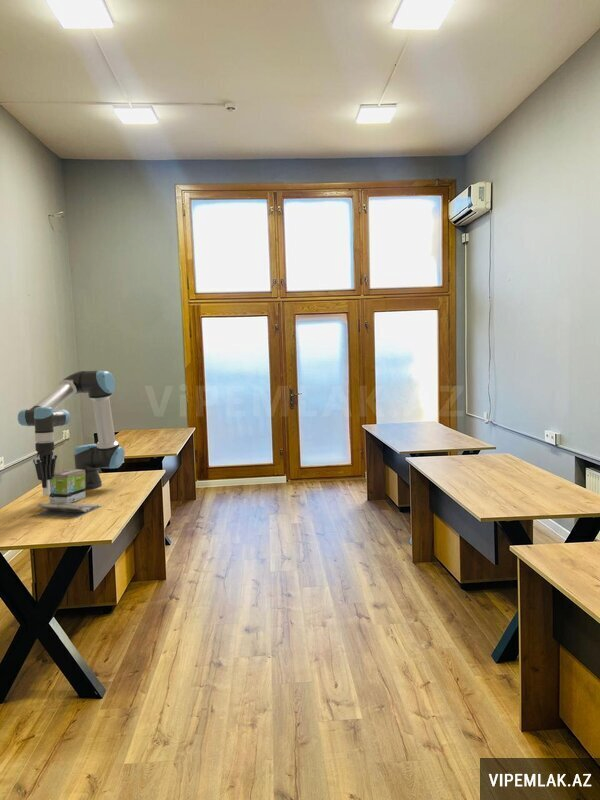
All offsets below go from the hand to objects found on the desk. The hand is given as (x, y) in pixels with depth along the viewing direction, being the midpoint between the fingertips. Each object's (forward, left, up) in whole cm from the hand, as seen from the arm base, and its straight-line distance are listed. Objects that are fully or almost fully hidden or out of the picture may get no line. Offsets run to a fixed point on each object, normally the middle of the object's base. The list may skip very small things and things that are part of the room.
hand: (46, 494), depth 236 cm
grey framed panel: (-8, +5, -10) cm, 14 cm away
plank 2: (-3, +10, -7) cm, 13 cm away
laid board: (-12, +5, -9) cm, 16 cm away
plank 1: (-3, 0, -7) cm, 8 cm away
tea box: (-24, -7, -10) cm, 27 cm away
